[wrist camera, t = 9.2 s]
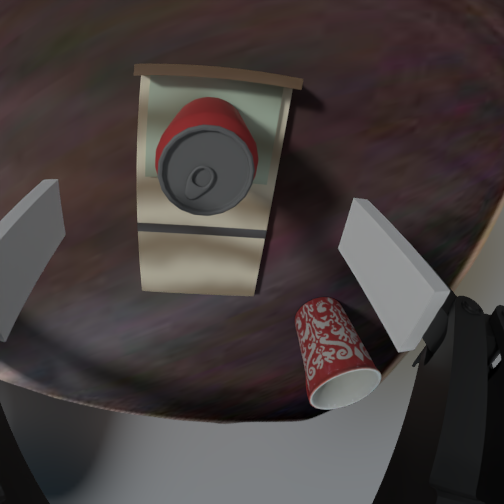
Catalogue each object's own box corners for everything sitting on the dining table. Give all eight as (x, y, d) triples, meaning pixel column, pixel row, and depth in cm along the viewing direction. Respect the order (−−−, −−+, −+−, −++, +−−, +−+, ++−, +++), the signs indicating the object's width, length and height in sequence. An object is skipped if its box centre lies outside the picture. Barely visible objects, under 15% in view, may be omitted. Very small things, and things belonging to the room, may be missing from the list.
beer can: (159, 141, 27) (129, 191, 17) (198, 82, 24) (188, 93, 15) (218, 176, 30) (222, 241, 20) (258, 121, 27) (287, 158, 17)
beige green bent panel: (252, 290, 40) (256, 312, 37) (143, 285, 38) (138, 307, 35) (292, 77, 26) (303, 79, 23) (144, 64, 24) (134, 64, 21)
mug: (302, 286, 41) (332, 369, 30) (357, 295, 43) (395, 368, 32) (270, 347, 47) (286, 423, 36) (321, 351, 50) (344, 420, 39)
